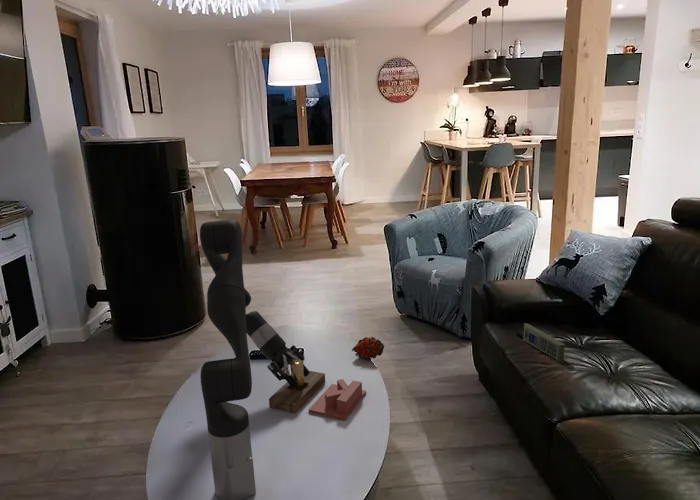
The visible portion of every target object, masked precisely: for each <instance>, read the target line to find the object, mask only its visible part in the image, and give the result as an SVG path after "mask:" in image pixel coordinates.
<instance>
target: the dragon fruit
mask: <svg viewBox="0 0 700 500" xmlns="http://www.w3.org/2000/svg"><path fill="white" fill-rule="evenodd" d="M384 349H385V344H384V343H383V342H382V341H381V340H380V339H376V338H375V337H374V336H369V337H367V336H366V337H363V338H362V339H359V340H358V341H357V344H355V346H353V347H352V349H351V352H355V356H356V357H358V358H366V360H367V361H370V360H371V359H376V358H377V357H378V356H379V357H380V356H382V355H383V352H384Z"/></svg>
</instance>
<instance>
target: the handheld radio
mask: <svg viewBox="0 0 700 500" xmlns="http://www.w3.org/2000/svg"><path fill="white" fill-rule="evenodd" d="M523 325H524V326H523V328H524V330H522V331H523V333H522V332H520V331H519V330H515V331H514V333H515V334H516V335H518V336H519V337H521V338H523V339H522V340H523V342H525V343H527V344H529V345H530V346H532V347H534V348H535V349H536V350H538V349H539V351H540V352H541V351H542V352H541V353H543V352H544V353H543V354H545V353H546V354H547V356H548V355H550V356H551V357H553V358H555V359H556V360H557V362H558V361H560V362H562V361H561V360H563V361H564V355H565V350H566V349H565V347H566V344H565V343H563V342H562V341H560V340H558V339H556V338H555V337H553V336H552V335H549V334H547V333H545V332H544V331H542V330H540V329H538V328H537V327H534V326H533V325H532V324H529V323H523ZM546 354H545V355H546ZM550 356H549V357H550ZM551 357H550V358H551ZM553 358H552V359H553ZM555 359H554V360H555ZM556 360H555V361H556Z"/></svg>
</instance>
